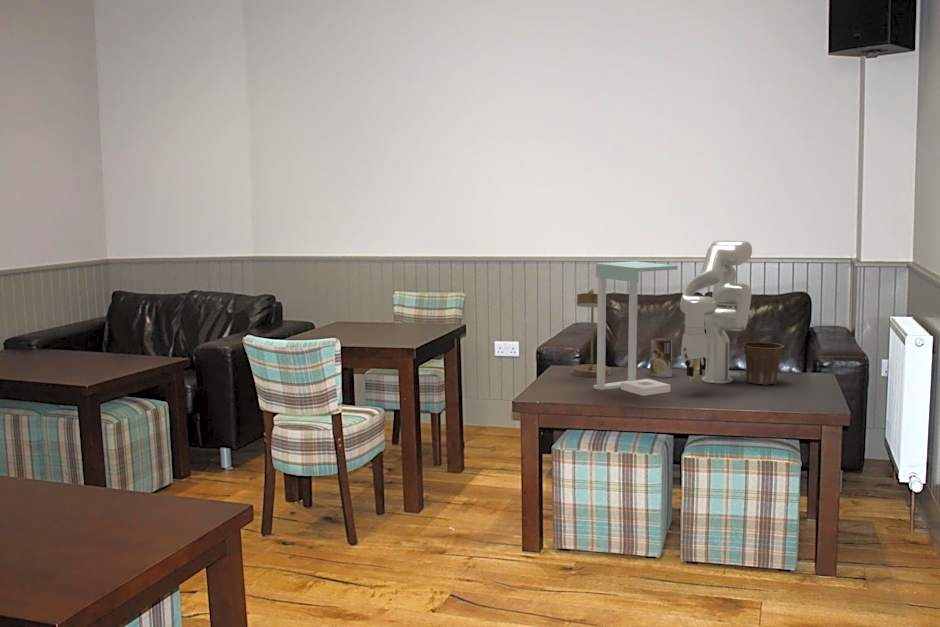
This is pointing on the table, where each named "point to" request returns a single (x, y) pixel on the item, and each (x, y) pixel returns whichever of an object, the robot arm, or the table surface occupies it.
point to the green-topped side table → (631, 274)
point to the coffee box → (661, 357)
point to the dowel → (695, 371)
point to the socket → (645, 387)
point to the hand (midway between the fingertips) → (694, 374)
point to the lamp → (591, 369)
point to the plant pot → (762, 362)
